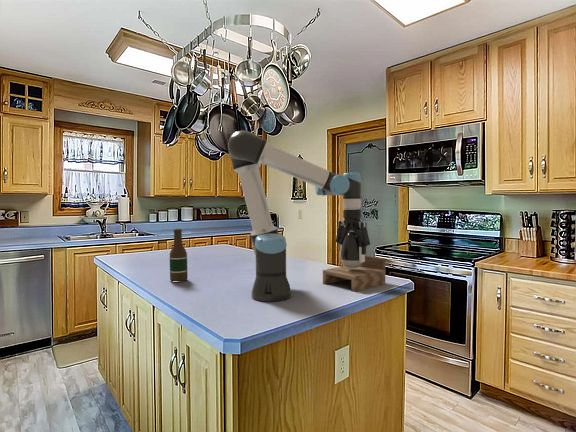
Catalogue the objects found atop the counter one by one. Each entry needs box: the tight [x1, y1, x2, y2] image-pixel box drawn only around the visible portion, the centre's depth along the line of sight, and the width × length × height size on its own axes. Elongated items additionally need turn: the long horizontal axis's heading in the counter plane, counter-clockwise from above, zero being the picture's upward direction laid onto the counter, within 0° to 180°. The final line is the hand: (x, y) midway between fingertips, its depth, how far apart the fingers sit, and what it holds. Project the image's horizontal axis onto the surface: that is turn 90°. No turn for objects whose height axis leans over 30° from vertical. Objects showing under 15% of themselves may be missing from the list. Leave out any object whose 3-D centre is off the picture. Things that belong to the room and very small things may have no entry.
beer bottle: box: [169, 228, 189, 282], centre depth 165 cm, size 8×8×24 cm
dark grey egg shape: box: [339, 231, 363, 268], centre depth 153 cm, size 10×10×15 cm
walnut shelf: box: [322, 255, 386, 293], centre depth 154 cm, size 20×18×11 cm
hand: (352, 260), depth 154 cm, fingers closed on dark grey egg shape, 10 cm apart
